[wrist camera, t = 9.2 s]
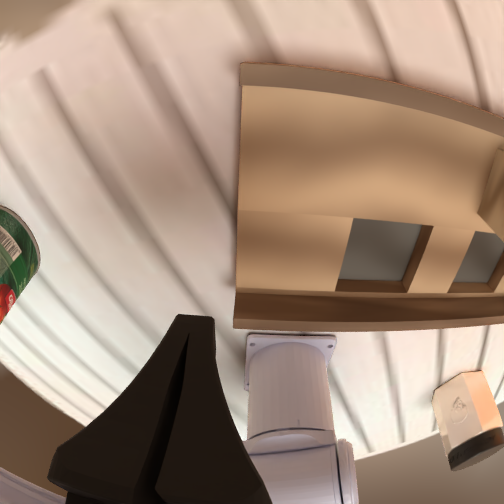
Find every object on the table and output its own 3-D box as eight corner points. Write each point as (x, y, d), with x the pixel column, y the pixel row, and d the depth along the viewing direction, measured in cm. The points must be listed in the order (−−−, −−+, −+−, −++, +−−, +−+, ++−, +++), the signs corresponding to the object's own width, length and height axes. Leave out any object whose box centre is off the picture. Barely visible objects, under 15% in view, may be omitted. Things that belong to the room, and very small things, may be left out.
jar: (474, 362, 31) (504, 439, 22) (488, 376, 34) (512, 443, 24) (420, 396, 36) (439, 473, 26) (440, 406, 38) (458, 472, 29)
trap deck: (499, 293, 24) (516, 321, 21) (236, 288, 24) (233, 328, 21) (559, 145, 15) (590, 165, 12) (244, 61, 15) (240, 63, 12)
